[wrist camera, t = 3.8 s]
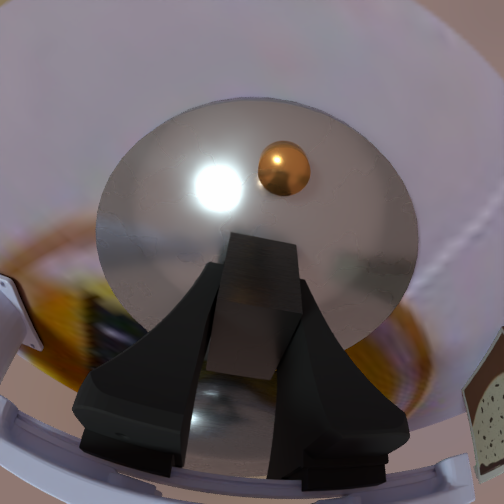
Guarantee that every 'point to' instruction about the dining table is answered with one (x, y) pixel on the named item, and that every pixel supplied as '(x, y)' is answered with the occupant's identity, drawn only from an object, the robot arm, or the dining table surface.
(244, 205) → the cooker lid
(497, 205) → the dining table surface
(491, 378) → the food container
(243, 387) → the cooker pot
